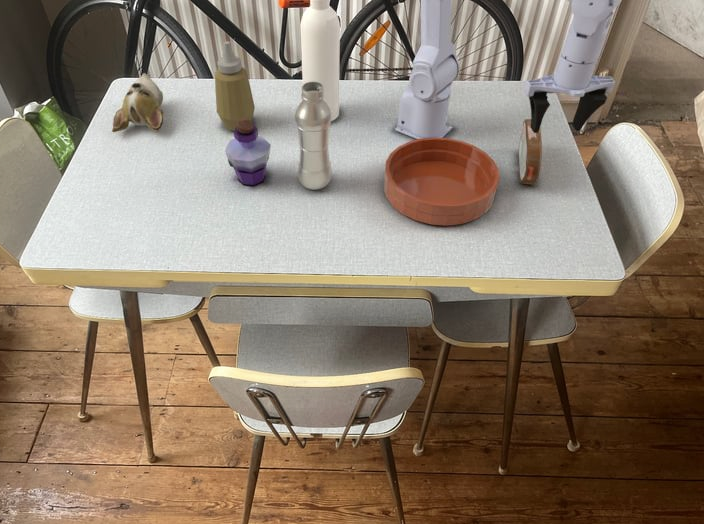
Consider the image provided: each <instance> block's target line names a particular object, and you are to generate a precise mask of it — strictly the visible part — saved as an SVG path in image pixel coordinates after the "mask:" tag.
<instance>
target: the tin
mask: <svg viewBox="0 0 704 524" xmlns="http://www.w3.org/2000/svg"><path fill="white" fill-rule="evenodd" d="M522 125H523V126H522V131H521V135H520V137H519V143H518V176H519V182H520V184H523V185H533V186H536V184H537V182H538V179H539V176H540V171H541V166H542V165H541V164H542V157H543V155H542V154H543V141H542V131H541V128H540V129H539V131H538V133H533V131H532V129H531V118H526V119H524V120H523V123H522Z"/></svg>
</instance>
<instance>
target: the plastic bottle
mask: <svg viewBox="0 0 704 524" xmlns="http://www.w3.org/2000/svg"><path fill="white" fill-rule="evenodd" d="M323 98H324V93H323V85H322V84H321V83H319V82H314V81H312V82H307V83H305V84H303V83H302V86H301V102H300V103H299V104H298V106H297V107H296V110H295V114H294V120H295V126H296V130H297V135H298V144H299V162H298V167H297V176H298V179H299V182H300V184H301V185H302V186H303V187H304V188H306V189H308V190H313V191H314V190H315V191H317V190H322V189H324V188H325V187H326V186H328V184H329V183H330V182H331V181H332V180H331V179H332V176H333V168H332V162H331V159H330V149H329V144H330V132H331V124H332V121H331V115H332V114H331V111H330V108H329V107H328V105H327V104H326V102H325V101H324V100H323Z"/></svg>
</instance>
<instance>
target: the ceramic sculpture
mask: <svg viewBox="0 0 704 524" xmlns="http://www.w3.org/2000/svg"><path fill="white" fill-rule="evenodd" d="M163 101H164V93H163V91H162V90H161V89H160V88H159V86H158V85H157V84H156V83H155V82H154V80H153V79H152V78H150V77H149V75H148V74H147V73H145V72H143V73H142V75H141V76H139V77H138V78H137V79H136V80H135V81H134V82H133V83H132V84H131V85H130V86H129V88H128V91H127V93H126V94H125V96H124V98H123V100H122V105H121V106H122V107H121V108H120V109H118V110H117V111H115V115H114V116H113V121H112V122H113V123H112V129H111V132H112V133H117V132H122V131H124V130H126V129H127V128H128V127H129V125H130V123H131V124H133V125H135V126H147V127H148V129H150V130H151V131H152V132H155V133H157V132H158V131H160V130H161V128H162V127H163V124H164V112H163V110H162V109H161V108H160V107H161V105H162V104H163Z"/></svg>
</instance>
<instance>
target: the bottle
mask: <svg viewBox="0 0 704 524" xmlns="http://www.w3.org/2000/svg"><path fill="white" fill-rule="evenodd" d="M309 2H310V5H309V6H308V7H307V8H306V9H305V10H304V11H303V13H302V15H301V19H300V24H299V25H300V49H301V50H300V51H301V52H300V54H301V76H302V79H301V80H302V85H303V84H305V83H307V82H312V81H314V82H319V83H321V84H322V85H323V93H324V98H323V100H324V101H325V102H326V104H327V105H328V107H329V108H330V111H331V114H332V115H331V122H334V121H335V120H337V118H338V117H339V115H340V51H341V50H340V49H341V46H340V45H341V24H340V20H339V16H338V13H337V11H335V9H333V7H332V6H330V0H309Z"/></svg>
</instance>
